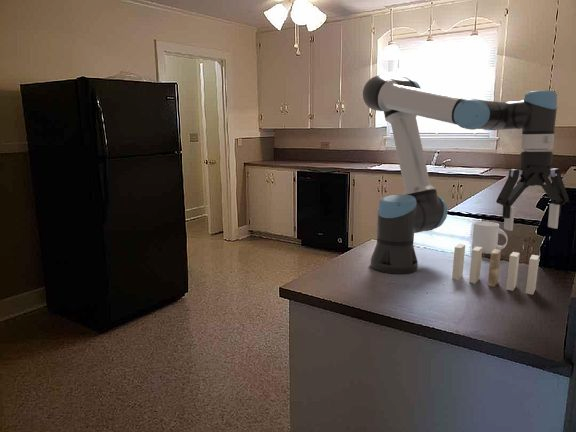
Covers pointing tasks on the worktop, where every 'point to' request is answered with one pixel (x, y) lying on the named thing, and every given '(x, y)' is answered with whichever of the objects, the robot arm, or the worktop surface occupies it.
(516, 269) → the tile
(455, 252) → the tile
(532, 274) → the tile
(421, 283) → the worktop surface
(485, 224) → the mug
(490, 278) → the tile
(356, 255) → the worktop surface
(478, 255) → the tile
